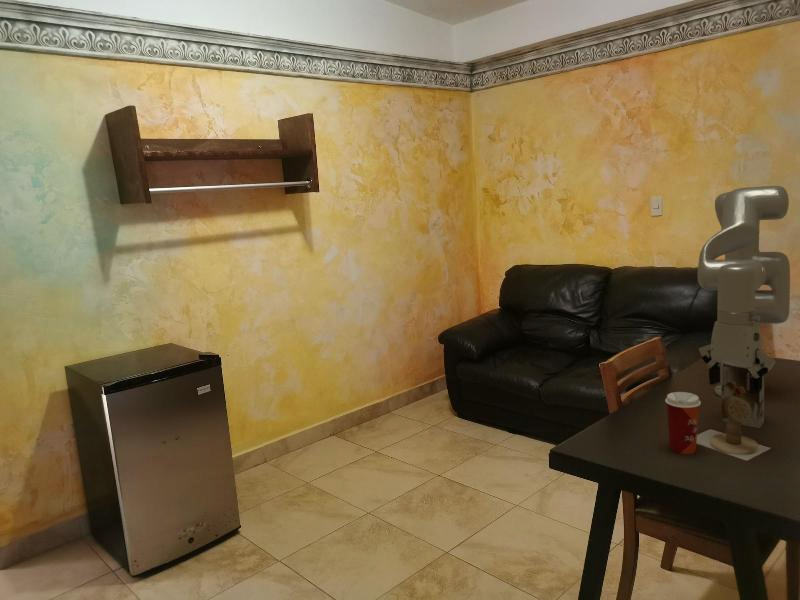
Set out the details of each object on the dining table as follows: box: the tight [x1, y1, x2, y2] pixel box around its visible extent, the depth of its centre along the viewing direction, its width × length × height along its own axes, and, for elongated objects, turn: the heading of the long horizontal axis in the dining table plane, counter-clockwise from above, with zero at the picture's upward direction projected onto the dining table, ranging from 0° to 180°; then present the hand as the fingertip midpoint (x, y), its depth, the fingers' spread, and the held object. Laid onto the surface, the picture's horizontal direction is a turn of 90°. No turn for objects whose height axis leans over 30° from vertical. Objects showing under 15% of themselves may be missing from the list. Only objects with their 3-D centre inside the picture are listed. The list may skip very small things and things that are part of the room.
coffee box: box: [720, 363, 766, 429], centre depth 153 cm, size 9×6×16 cm
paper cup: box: [664, 391, 702, 455], centre depth 140 cm, size 8×8×14 cm
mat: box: [696, 429, 772, 462], centre depth 142 cm, size 10×15×1 cm, turn 30°
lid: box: [710, 420, 759, 455], centre depth 140 cm, size 10×10×6 cm
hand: (734, 388), depth 138 cm, fingers open, 9 cm apart
